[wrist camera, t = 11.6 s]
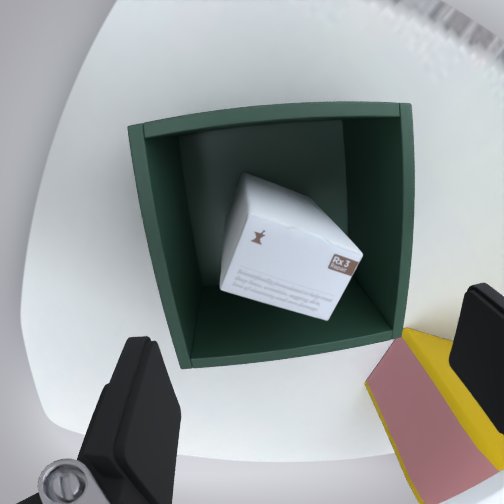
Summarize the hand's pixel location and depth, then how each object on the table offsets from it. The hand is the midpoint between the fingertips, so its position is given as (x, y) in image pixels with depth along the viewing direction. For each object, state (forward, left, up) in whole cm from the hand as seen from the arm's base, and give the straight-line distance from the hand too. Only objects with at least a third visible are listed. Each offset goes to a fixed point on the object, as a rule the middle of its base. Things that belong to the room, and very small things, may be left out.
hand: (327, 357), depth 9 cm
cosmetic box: (0, 0, -19) cm, 19 cm away
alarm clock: (+21, -24, -20) cm, 38 cm away
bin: (0, 0, -20) cm, 20 cm away
